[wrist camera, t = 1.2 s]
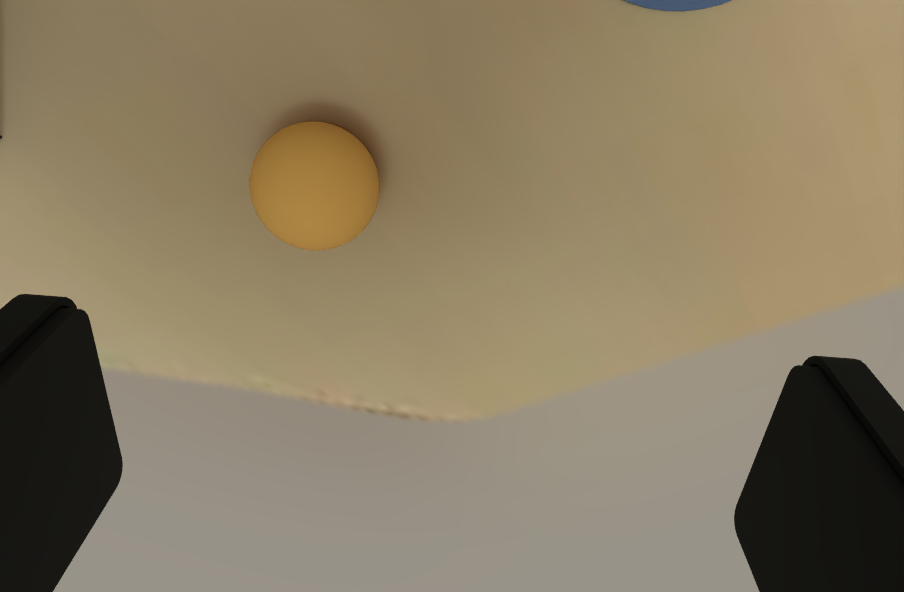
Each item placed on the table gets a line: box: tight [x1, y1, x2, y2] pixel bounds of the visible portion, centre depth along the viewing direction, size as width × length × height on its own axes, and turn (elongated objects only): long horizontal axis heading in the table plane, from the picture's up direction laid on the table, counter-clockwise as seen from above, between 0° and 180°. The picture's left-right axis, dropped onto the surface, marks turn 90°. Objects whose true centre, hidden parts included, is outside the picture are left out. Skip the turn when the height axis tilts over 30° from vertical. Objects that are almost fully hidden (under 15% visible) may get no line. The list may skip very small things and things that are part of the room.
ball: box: [250, 121, 379, 250], centre depth 30 cm, size 6×6×6 cm
